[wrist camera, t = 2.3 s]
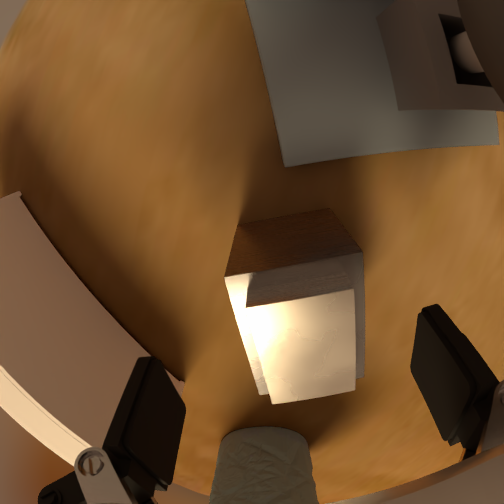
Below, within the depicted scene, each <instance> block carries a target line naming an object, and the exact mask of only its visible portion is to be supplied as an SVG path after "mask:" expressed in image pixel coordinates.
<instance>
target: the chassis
mask: <svg viewBox="0 0 504 504" xmlns="http://www.w3.org/2000/svg"><path fill="white" fill-rule="evenodd" d="M245 3H246V7H247V10H248V14H249V18H250V21H251V25H252V29H253V33H254V37H255V40H256V44H257V48H258V52H259V56H260V60H261V64H262V69H263V73H264V77H265V81H266V85H267V90H268V94H269V99H270V103H271V107H272V112H273V117H274V121H275V126H276V130H277V135H278V140H279V145H280V150H281V155H282V160H283V164H284V166H285V168H286V167H291V166H297V165H303V164H309V163H315V162H321V161H328V160H334V159H341V158H348V157H355V156H363V155H371V154H379V153H388V152H397V151H407V150H417V149H429V148H442V147H458V146H479V145H499V134H498V124H497V116H496V111H503V112H504V103H503V102H502V100H501V99H500V97H499V96H498V94H497V93H496V91H495V90H494V88H493V86H492V85H491V83H490V81H489V80H488V78H487V76H486V74H485V72H480V73H467V72H465V71H463V70H462V69H461V68H460V67H459V66H458V65H457V64H456V62H455V61H454V59H453V57H452V55H451V52H450V40H451V38H452V37H453V36H454V35H457V34H459V33H462V32H465V31H466V30H465V27H464V24H463V21H462V18H461V14H460V11H459V7H458V2H457V0H245Z"/></svg>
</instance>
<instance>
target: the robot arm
mask: <svg viewBox="0 0 504 504" xmlns="http://www.w3.org/2000/svg"><path fill="white" fill-rule="evenodd" d="M410 368H411V373H412V375H413V377H414V379H415V381H416V383H417V385H418V387H419V389H420V391H421V393H422V395H423V397H424V399H425V401H426V404H427V406H428V408H429V410H430V412H431V414H432V416H433V419H434V421H435V423H436V425H437V427H438V430H439V432H440V434H441V436H442V438H443V440H444V441H447V440H448V443H449V445H450V446H452V445H454V444H456V443H459V442H461V444H462V446H463V448H464V449H463V452H462V454H461V457H460V460H459V463H456V464H454V465H452V466H450V467H447V468H445V469H442V470H440V471H438V472H435V473H432V474H430V475H427V476H425V477H422V478H419V479H417V480H414V481H411V482H408V483H405V484H402V485H399V486H396V487H393V488H390V489H386V490H383V491H379V492H376V493H372V494H368V495H364V496H360V497H356V498H352V499H347V500H343V501H338V502H333V503H327V504H504V380H503V381H501V382H499V381H498V379H497V378H496V377H495V375H494V374H493V372H492V371H491V369H490V368H489V367H488V365H487V364H486V362H485V361H484V360H483V358H482V357H481V356H480V354H479V353H478V351H477V350H476V349H475V347H474V346H473V345H472V343H471V342H470V341H469V340H468V338H467V337H466V336H465V335H464V334H463V333H461V332H460V330H459V329H458V328H457V326H456V325H455V324H454V323H453V321H452V320H451V319H450V318H449V316H448V315H447V314H446V313H445V312H444V310H443V309H442V308H441V307H440V306H439V305H438V304H434V305H431V306H427V307H424V308H423V309H422V311H421V313H419V314H418V318H417V326H416V333H415V340H414V347H413V353H412V359H411V365H410ZM185 414H186V407H185V404H184V402H183V400H182V398H181V397H180V395H179V393H178V392H177V390H176V388H175V386H174V385H173V383H172V381H171V379H170V377H169V376H168V374H167V372H166V370H165V368H164V366H163V364H162V363H161V361H160V360H157V359H156V358H155V357H154V356H146V357H139V358H138V359H137V361H136V363H135V366H134V368H133V370H132V373H131V375H130V377H129V380H128V382H127V384H126V387H125V389H124V392H123V394H122V397H121V399H120V401H119V404H118V406H117V409H116V411H115V414H114V416H113V419H112V422H111V424H110V427H109V429H108V432H107V435H106V437H105V440H104V443H103V446H102V449H101V448H98V447H90V448H87V449H85V450H83V451H82V452H80V454H79V455H78V456H77V458H76V460H75V464H74V468H75V471H73V472H71V473H69V474H68V475H66V476H64V477H63V478H60V479H59V480H57V481H55V482H53V483H51V484H49V485H47V486H46V487H44V488H43V489H42V490H41V492H40V493H39V496H38V504H158V503H157V501H156V500H155V498H154V491H155V490H160V491H167V487H168V485H170V484H171V483H172V480H173V475H174V470H175V464H176V459H177V454H178V449H179V444H180V439H181V434H182V429H183V424H184V419H185Z"/></svg>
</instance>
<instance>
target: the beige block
mask: <svg viewBox="0 0 504 504" xmlns="http://www.w3.org/2000/svg"><path fill="white" fill-rule="evenodd" d="M224 279H225V282H226V286H227V289H228V293H229V296H230V300H231V303H232V306H233V310H234V313H235V317H236V320H237V323H238V327H239V330H240V333H241V337H242V340H243V343H244V346H245V350H246V353H247V356H248V359H249V363H250V366H251V369H252V372H253V375H254V378H255V382H256V385H257V388H258V391H259V394H260V395H264V394H270V398H271V401H272V404H279V403H286V402H293V401H300V400H306V399H312V398H318V397H324V396H329V395H334V394H339V393H344V392H349V391H353V390H355V379H357V378H362V377H364V362H365V290H364V266H363V252H362V251H361V249H360V248H359V246H358V245H357V244H356V242H355V241H354V240H353V238H352V237H351V236H350V234H349V233H348V232H347V230H346V229H345V228H344V226H343V225H342V224H341V222H340V221H339V220H338V218H337V217H336V216H335V215H334V213H333V212H332V211H331V209H330V208H327V209H321V210H315V211H310V212H304V213H299V214H293V215H288V216H282V217H277V218H272V219H266V220H261V221H256V222H251V223H245V224H240V225H237V229H236V232H235V236H234V240H233V244H232V248H231V252H230V256H229V260H228V264H227V268H226V272H225V276H224Z"/></svg>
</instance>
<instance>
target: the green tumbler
mask: <svg viewBox="0 0 504 504" xmlns="http://www.w3.org/2000/svg"><path fill="white" fill-rule="evenodd" d="M312 469H313V467H312V462H311V457H310V452H309V448H308V444H307V441H306V440H305V438H304V437H303V436H302V435H300V434H299V433H297V432H295V431H292V430H289V429H285V428H282V427H272V426H270V427H267V426H263V427H250V428H244V429H240V430H236V431H234V432H231V433H230V434H228V435H227V436H225V437H224V438H223V440H222V442H221V444H220V448H219V452H218V458H217V464H216V470H215V476H214V480H213V483H212V488H211V489H212V490H211V493H210V503H209V504H319V502H318V500H317V495H316V490H315V487H316V484H315V482H314V480H313V476H312Z"/></svg>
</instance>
